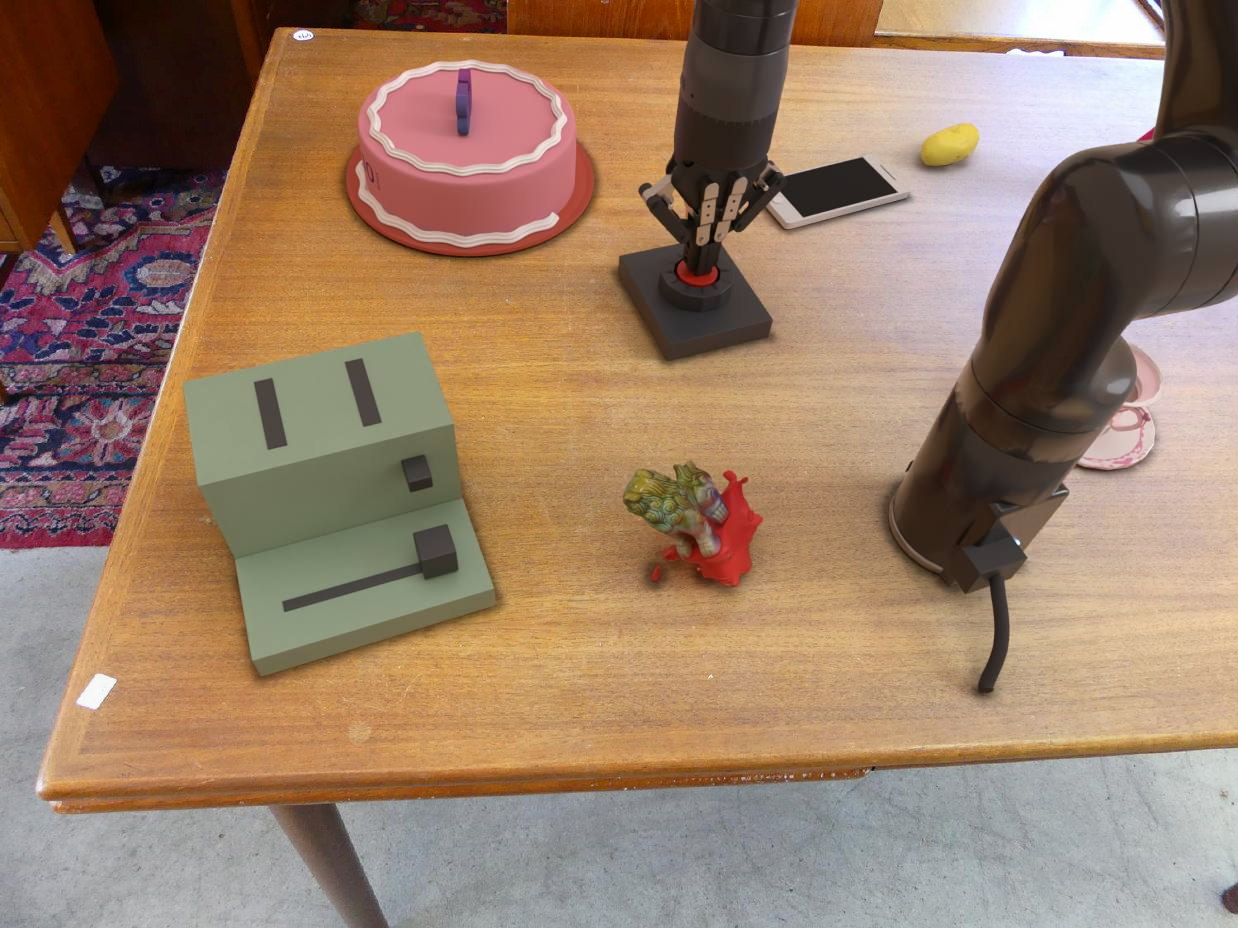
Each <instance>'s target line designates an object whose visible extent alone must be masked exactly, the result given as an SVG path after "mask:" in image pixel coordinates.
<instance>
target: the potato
mask: <svg viewBox="0 0 1238 928" xmlns="http://www.w3.org/2000/svg"><path fill="white" fill-rule="evenodd" d="M979 140H980V132H979V130H978V128H977V126H975V125H974V124H972V123H969V122H961V123H957V124H955V125H951V126H948V127H944V129H942V130H940V131H936V132H935V133H932V134H930V135H929V136H928V137H927V138H926V139H925V140H924V141H923V143H922V146H921V149H920V150H921V151H920V157H921V160H922V162H923V164H925V165H927V166H930V167H936V166H946V165H951V164H954V163H957V162H961V161H964V160H965V159H967V158H968V157H969V155H971V154H972V153H973V151H974V150H975V149H976V147H977V146H978V144H979Z"/></svg>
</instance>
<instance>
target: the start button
mask: <svg viewBox="0 0 1238 928" xmlns="http://www.w3.org/2000/svg"><path fill="white" fill-rule="evenodd" d="M676 277H677V279H678V280H679V281H681V282H682V283H684V284H686V285H688V286H690V287H697V288H704V287H708V286H713V285H714V284H715V283H716V279H717V269H716V267H712V272H711V273H709V274H705V275H700V276H695V275H694V274H693V272H690V271H689V269H688V267H687V266H686V264H685V263H684V261H681V262H680V264H679V265H678V267H677V273H676Z"/></svg>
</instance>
